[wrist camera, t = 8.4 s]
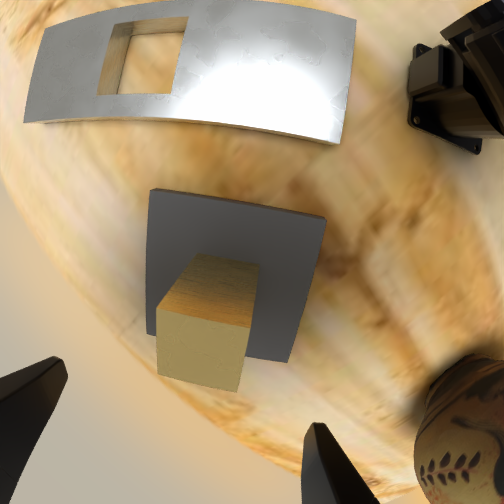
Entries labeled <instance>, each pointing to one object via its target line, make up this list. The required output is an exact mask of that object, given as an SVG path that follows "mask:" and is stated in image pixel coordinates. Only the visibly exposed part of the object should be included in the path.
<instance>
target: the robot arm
mask: <svg viewBox="0 0 504 504" xmlns="http://www.w3.org/2000/svg"><path fill="white" fill-rule="evenodd" d="M440 33H441V35H442V36H443V37H444V39H445V40H448V41H449V43H450V44H449V45H447V46H444V45H442V44H441V45H438V46H436V47H435V48H433V49H432V48H430V47H428V46H426V45H423V44H417V45H416V46H414V56H413V61H411V63H410V77H409V89H408V93H409V95H410V105H409V113H408V122H409V124H410V125H411V126H412V127H413V128H416V129H418V130H421V131H423V132H426V133H428V134H431V135H433V136H435V137H437V138H440V139H442V140H444V141H446V142H449V143H451V144H453V145H455V146H457V147H459V148H461V149H463V150H465V151H467V152H469V153H471V154H474V155H478V154H479V153H480V152H481V145H482V138H490V139H504V0H491V1H489V2H487V3H485V4H483V5H481V6H479V7H478V8H476V9H474V10H472V11H471V12H469V13H468V14H466V15H464V16H463V17H461V18H460V19H458V20H457V21H455V22H454V23H452V24H451V25H449V26H448V27H446V28H445V29H444V30H442V31H441V32H440ZM419 48H420V49H422V51H423V53H422V52H421V51H420V49H419ZM414 117H415V118H417V124H416V123H415V122H414ZM474 145H475V147H476V149H474ZM67 379H68V374H67V371H66V367H65V364H64V361H63V360H62V359H60V358H58V357H56V356H52V357H49V358H47V359H45V360H42V361H40V362H38V363H35V364H33V365H31V366H28V367H26V368H23V369H21V370H18V371H16V372H14V373H11V374H9V375H6V376H4V377H1V378H0V504H9V502H10V500H11V497H12V495H13V493H14V490H15V488H16V486H17V482H18V481H19V478H20V476H21V474H22V472H23V470H24V467H25V465H26V463H27V461H28V459H29V457H30V455H31V453H32V451H33V449H34V447H35V445H36V443H37V441H38V439H39V437H40V435H41V433H42V431H43V429H44V427H45V426H46V424H47V422H48V420H49V419H50V417H51V415H52V413H53V411H54V409H55V407H56V405H57V402H58V400H59V398H60V395H61V393H62V391H63V389H64V386H65V384H66V382H67ZM301 491H302V504H380V503H379V501H378V500H377V498H376V497H374V494H373V493H372V491H371V490H370V489H369V487H368V486H367V484H366V483H365V482H364V480H363V479H362V477H361V476H360V474H359V473H358V471H357V470H356V469H355V467H354V466H353V464H352V463H351V461H350V460H349V458H348V457H347V455H346V454H345V453H344V451H343V450H342V448H341V447H340V445H339V444H338V442H337V441H336V439H335V438H334V436H333V435H332V433H331V432H330V430H329V429H328V427H327V426H326V424H324V423H317V422H313V423H312V424H311V426H310V427H309V429H308V431H307V433H306V435H305V437H304V446H303V459H302V471H301Z"/></svg>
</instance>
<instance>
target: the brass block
mask: <svg viewBox="0 0 504 504" xmlns="http://www.w3.org/2000/svg"><path fill="white" fill-rule="evenodd" d="M259 267H260V265H259V264H254V263H249V262H243V261H238V260H233V259H228V258H222V257H217V256H212V255H207V254H201V253H197V254H196V255H195V256H194V258H193V259H192V260H191V262H190V263H189V264H188V266H187V267H186V268H185V270H184V271H183V272H182V274H181V275H180V276H179V278H178V279H177V280H176V282H175V283H174V284H173V286H172V287H171V288H170V290H169V291H168V293H167V294H166V295H165V297H164V298H163V299H162V301H161V302H160V303H159V305H158V306H157V308H156V339H157V367H158V374H159V375H163V376H166V377H170V378H174V379H178V380H182V381H186V382H190V383H194V384H198V385H202V386H207V387H211V388H216V389H221V390H226V391H231V392H237V390H238V385H239V380H240V376H241V371H242V366H243V362H244V357H245V352H246V347H247V343H248V338H249V333H250V328H251V321H252V315H253V308H254V301H255V294H256V287H257V281H258V274H259Z"/></svg>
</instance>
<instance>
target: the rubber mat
mask: <svg viewBox="0 0 504 504" xmlns="http://www.w3.org/2000/svg"><path fill="white" fill-rule="evenodd" d="M326 222H327V220H326V219H325V218H324V217H322V216H317V215H312V214H307V213H302V212H297V211H292V210H287V209H281V208H276V207H271V206H265V205H260V204H254V203H248V202H243V201H237V200H231V199H225V198H219V197H212V196H206V195H200V194H193V193H186V192H179V191H172V190H165V189H157V188H156V189H153V190H150V196H149V209H148V224H147V244H146V329H147V334H149V335H153V336H156V308H157V306H158V305H159V303H160V302H161V301H162V299H163V298H164V297H165V295H166V294H167V293H168V291H169V290H170V288H171V287H172V286H173V284H174V283H175V282H176V280H177V279H178V278H179V276H180V275H181V274H182V272H183V271H184V270H185V268H186V267H187V266H188V264H189V263H190V262H191V260H192V259H193V258H194V256H195V255H196V254H197V253H201V254H207V255H212V256H217V257H222V258H228V259H233V260H238V261H243V262H249V263H254V264H259V265H260V267H259V274H258V281H257V287H256V294H255V301H254V308H253V315H252V321H251V328H250V333H249V338H248V343H247V347H246V352H245V356H247V357H252V358H258V359H264V360H271V361H277V362H284V363H287V362H288V359H289V356H290V353H291V350H292V346H293V343H294V340H295V337H296V334H297V330H298V327H299V324H300V320H301V317H302V314H303V310H304V307H305V303H306V300H307V296H308V292H309V289H310V285H311V282H312V278H313V274H314V270H315V267H316V263H317V259H318V255H319V251H320V247H321V243H322V239H323V235H324V230H325V226H326Z"/></svg>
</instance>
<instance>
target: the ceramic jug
mask: <svg viewBox="0 0 504 504" xmlns="http://www.w3.org/2000/svg"><path fill="white" fill-rule="evenodd" d="M425 406H426V409H427V411H426V414H425V416H424V419H423V421H422V423H421V426H420V428H419V431H418V433H417V436H416V440H415V444H414V469H415V473H416V476H417V480H418V482H419V484H420V486H421V488H422V490H423V492H424V494H425V495H426V498H427V499H428V500H429V502H430V503H431V504H504V361H503V360H500V361H494V360H493V359H492V358H491V357H489V356H487V355H484V354H470V355H467V356H465V357H464V358H463V359H462V360H460V361H459V362H458V363H457V364H455V365H454V366H453V367H452V368H450V369H448V370H446V371H445V372H444V373H443V374H442V375H441V376H440V377H439V378H438V379H437V380H436V381H435V382H434V383H433V384H432V385H431V386H430V391H429V394H428V396H427V397H426V400H425Z"/></svg>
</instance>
